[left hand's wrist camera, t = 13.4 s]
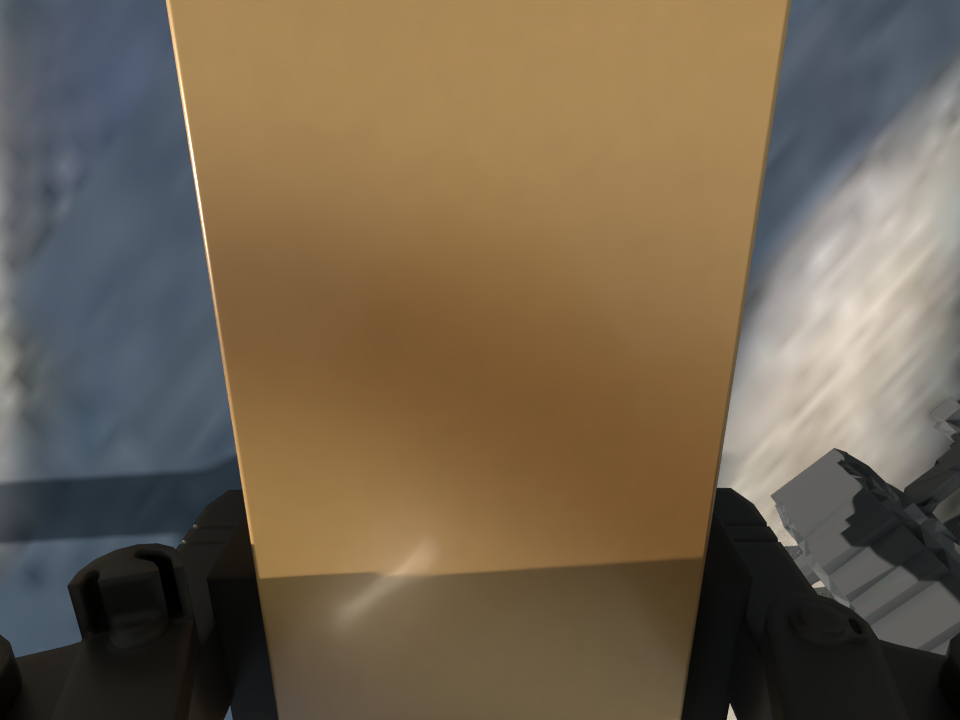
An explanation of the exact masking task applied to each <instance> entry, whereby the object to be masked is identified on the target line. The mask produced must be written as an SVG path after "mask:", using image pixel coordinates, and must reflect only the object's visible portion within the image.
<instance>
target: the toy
mask: <svg viewBox="0 0 960 720" xmlns="http://www.w3.org/2000/svg"><path fill="white" fill-rule="evenodd" d="M929 414H930V415H931V416H932V418H933V419H934V420H935V421H936V422H937V424H936V425H935V426H934V428H936V429H937V430H939V431H940V432H942V433H943V434H945V435H946V436H947V437H948V438H949V439H951V440H952V441H953V442H954V443H952V444H951V445H950V447H952V448H951V449H950V450H949V451H947V452H946V453H945V454H944V455H942V456H941V457H940V458H939V459H938V460H936V463H935V466H934V467H933V468H932V469H930V470H929V471H927V472H926V473H925V474H923V475H922V476H921V477H919V478H918V479H917V480H915V481H914V482H912V483H911V484H910V485H908V486H907V487H906V488H905V489H904V493H903V492H902V491H900V490H899V489H897V488H895V487H894V486H892V485H890V484H888V483H886V482H885V481H884V480H883V479H882V478H881V477H880V476H878V475H877V474H876V473H875V472H874V471H873V470H872V469H871V468H870V467H869V466H868V465H866V464H864V463H863V462H861V461H859V460H858V459H856V458H854V457H852V456H851V455H849V454H848V453H847V452H844V451H841V450H838V449H835V448H834V449H832V450H831V451H830V452H828V453H827V454H826V455H824V456H823V457H822V458H820V459H819V460H818V461H816V462H815V463H814V464H812V465H811V466H810V467H808V468H807V469H806V470H804V471H803V472H802V473H800V474H799V475H798V476H796V477H795V478H794V479H792V480H791V481H790V482H788V483H787V484H786V485H784V486H783V487H782V488H780V489H779V490H778V491H776V492H775V493H774V494H772V495H771V497H772V498H773V500H774V501H775V502H776V504H777V505H775V506H776V508H777V511H778V513H779V515H780V518H781V520H782V523H783V525H784V528H785V529H786V530H787V531H788V532H789V533H790V535H791V536H792V537H793V538H794V539H795V540H796V542H797V544H798V545H799V547H800V549H801V550H802V552H803V553H802V554H801V555H800V556H798V557H797V558H795V559H794V562H795V563H796V565H797V566H798V568H799V569H800V570H801V572H802V573H803V575H804V576H805V577H806V579H807V580H808V582H809V583H810V584H811V585H813V584H814V583H816V582H818V581H820V580H821V581H822V582H823V584H824V585H825V586H826V588H827V589H828V590H829V591H830V593H831V594H832V595H833V596H834V598H835V599H836V600H837V601H838V602H839V603H841V604H843V605H845V606H847V607H849V608H850V609H852V610H853V611H855V612H856V613H857V614H858V615H859V616H861V617H862V618H863V619H864V620H865V621H867V622H868V623H869V625H870V626H871V628H872V629H873V631H874V632H875V634H876V635H877V637H878V639H880V640H884V641H887V642H890V643H894V644H898V645H902V646H906V647H911V648H915V649H919V650H924V651H928V652H933V653H937V654H941V655H945V654H946V651H947V648H948V646H949V643H950V640H951V639H952V638H953V637H954V636H956V635H957V634H958V633H959V632H960V521H959V522H958V523H957V524H956V526H955V528H954V529H953V531H952V533H951V532H950V531H949V530H948V529H947V528H946V527H945V526H944V525H943V524H942V523H941V522H940V521H939V520H938V519H937V518H936V517H935V516H934V514H933V513H932V512H933V511H934V509H935V508H936V507H937V505H938V504H939V503H940V502H942V501H943V500H944V499H945V498H947V497H948V496H949V495H950V494H952V493H953V492H954V491H955V490H957V489H958V488H959V487H960V404H959V403H958V402H957V401H955V400H954V399H953V398H952V397H951V398H950V399H948V400H947V401H945V402H944V403H943V404H941V405H940V406H939V407H937V408H936V409H935V410H933V411H932V412H931V413H929Z"/></svg>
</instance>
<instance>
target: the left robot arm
mask: <svg viewBox="0 0 960 720" xmlns="http://www.w3.org/2000/svg"><path fill="white" fill-rule="evenodd" d="M68 590H69V593H70V597H71V600H72V604H73V607H74V611H75V614H76V618H77V622H78V625H79V629H80V632H81V636H82V640H81V642H78V643H75V644H72V645H68V646H65V647H61V648H56V649H52V650H48V651H43V652H39V653H35V654H30V655H26V656H22V657H17V658H15V656H14V653H13V650H12V647H11V644H10V642H9V641H8V640H6V639H5V638H4V637H3V636H1V635H0V720H224V718H225V716H226V713H227V711H228V709H229V706H231V712H232V717H233V720H279V719H278V712H277V706H276V699H275V693H274V687H273V680H272V674H271V667H270V661H269V655H268V648H267V642H266V636H265V629H264V623H263V616H262V610H261V604H260V597H259V591H258V584H257V578H256V572H255V565H254V559H253V553H252V546H251V540H250V533H249V527H248V521H247V514H246V508H245V501H244V495H243V490H228V491H227V492H226V493H224V494H223V495H221V496H220V497H219V498H217V499H216V500H214V501H213V502H211V503H210V504H209V505H207V506H206V507H205V509H204V510H203V512H202V513H201V515H200V516H199V517H198V519H197V520H196V522H195V523H194V524H193V529H190V530H189V532H188V533H187V534H186V536H185V537H184V539H183V540H182V544H179V546H178V547H177V549H174V548H173V547H170V546H166V545H162V544H158V543H156V544H137V545H133V546H130V547H126V548H122V549H118V550H115V551H113V552H110V553H108V554H106V555H104V556H102V557H100V558H97V559H95V560H94V561H92V562H91V563H90V564H88V565H87V566H86V567H84V568H83V569H82V570H80V571H79V572H78V573H77V574H76V575H75V577H74V578H73V579H72V581H71V582H70V583H69V585H68ZM729 704H731V706H732V709H733V711H734V713H735V716H736V718H737V720H960V632H959V633H958V634H957V635H956V636H954V637H953V638H952V639H951V640H950V643H949V646H948V648H947V651H946V654H945V655H941V654H937V653H933V652H928V651H924V650H919V649H915V648H911V647H906V646H902V645H898V644H894V643H890V642H887V641H884V640H880V639H878V637H877V635H876V634H875V632H874V631H873V629H872V628H871V626H870V625H869V623H868V622H867V621H865V620H864V619H863V618H862V617H861V616H859V615H858V614H857V613H856V612H855V611H853V610H852V609H850V608H849V607H847V606H845V605H843V604H841V603H839V602H837V601H835V600H833V599H830V598H827V597H824V596H820V595H818V594H817V593H816V591H815V590H814V589H813V587H812V586H811V584H810V583H809V582H808V580H807V579H806V577H805V576H804V575H803V573H802V572H801V570H800V569H799V568H798V566H797V565H796V563H795V562H794V560H793V559H792V558H791V556H790V555H789V553H788V552H787V551H786V549H785V548H784V546H783V545H782V544H781V542H778V538H777V536H776V535H775V534H774V532H773V531H772V529H771V528H770V527H769V526H767V522H766V521H765V520H764V518H763V517H762V515H761V514H760V513H759V511H758V510H757V508H756V507H755V505H754V504H753V503H751V502H750V501H748V500H747V499H746V498H744V497H743V496H741V495H740V494H739V493H737V492H736V491H734V490H733V489H731V488H716V495H715V501H714V508H713V514H712V521H711V527H710V534H709V540H708V547H707V553H706V560H705V566H704V573H703V579H702V586H701V592H700V599H699V605H698V612H697V618H696V625H695V631H694V638H693V644H692V651H691V657H690V664H689V670H688V677H687V683H686V690H685V696H684V703H683V709H682V716H681V720H727V715H728V709H729Z"/></svg>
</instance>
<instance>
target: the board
mask: <svg viewBox="0 0 960 720" xmlns="http://www.w3.org/2000/svg"><path fill="white" fill-rule="evenodd" d="M791 1H792V0H166V3H167V10H168V16H169V23H170V29H171V35H172V42H173V48H174V54H175V61H176V67H177V74H178V80H179V86H180V93H181V99H182V106H183V112H184V118H185V125H186V131H187V137H188V144H189V150H190V157H191V163H192V169H193V176H194V182H195V189H196V195H197V201H198V208H199V214H200V220H201V227H202V233H203V240H204V246H205V252H206V259H207V265H208V272H209V278H210V284H211V291H212V297H213V303H214V310H215V316H216V323H217V329H218V335H219V342H220V348H221V355H222V361H223V367H224V374H225V380H226V387H227V393H228V399H229V406H230V412H231V418H232V425H233V431H234V438H235V444H236V450H237V457H238V463H239V470H240V476H241V482H242V489H243V495H244V501H245V508H246V514H247V521H248V527H249V533H250V540H251V546H252V553H253V559H254V565H255V572H256V578H257V584H258V591H259V597H260V604H261V610H262V616H263V623H264V629H265V636H266V642H267V648H268V655H269V661H270V667H271V674H272V680H273V687H274V693H275V699H276V706H277V712H278V719H279V720H681V716H682V709H683V703H684V696H685V690H686V683H687V677H688V670H689V664H690V657H691V651H692V644H693V638H694V631H695V625H696V618H697V612H698V605H699V599H700V592H701V586H702V579H703V573H704V566H705V560H706V553H707V547H708V540H709V534H710V527H711V521H712V514H713V508H714V501H715V495H716V488H717V482H718V475H719V469H720V462H721V456H722V449H723V443H724V436H725V430H726V423H727V417H728V410H729V404H730V397H731V391H732V384H733V378H734V371H735V365H736V358H737V352H738V345H739V339H740V332H741V326H742V319H743V313H744V306H745V300H746V293H747V287H748V280H749V274H750V267H751V261H752V254H753V248H754V241H755V235H756V228H757V222H758V215H759V209H760V202H761V196H762V189H763V183H764V176H765V170H766V163H767V157H768V150H769V144H770V137H771V131H772V124H773V118H774V111H775V105H776V98H777V92H778V85H779V79H780V72H781V66H782V59H783V53H784V46H785V40H786V33H787V27H788V20H789V14H790V7H791Z"/></svg>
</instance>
